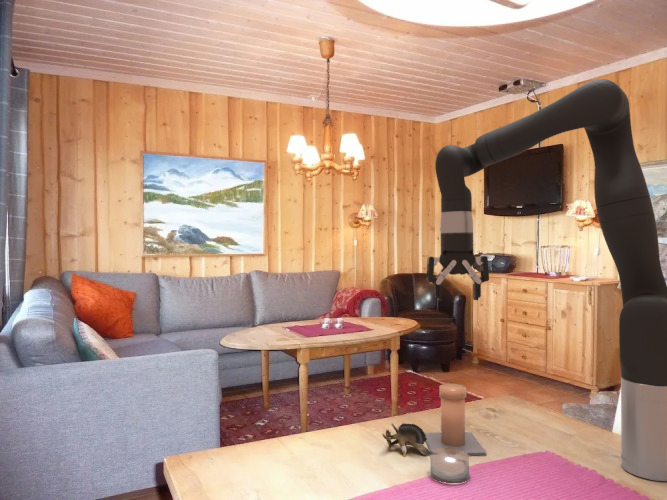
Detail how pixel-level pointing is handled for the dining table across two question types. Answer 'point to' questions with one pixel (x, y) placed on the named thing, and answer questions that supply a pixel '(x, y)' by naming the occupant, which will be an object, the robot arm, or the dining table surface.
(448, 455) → the metal tin
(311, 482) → the dining table surface
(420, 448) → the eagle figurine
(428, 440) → the slate coaster
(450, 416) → the peach dome-topped cylinder
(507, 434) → the dining table surface
